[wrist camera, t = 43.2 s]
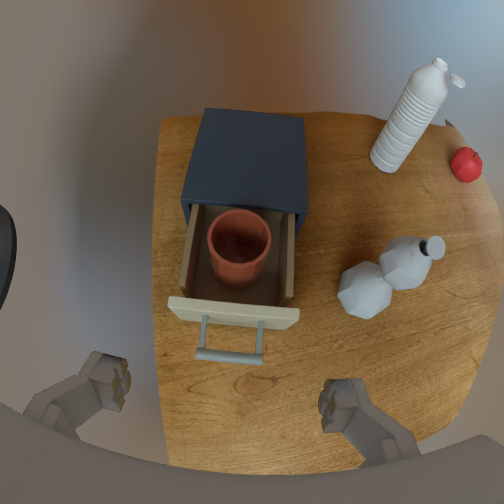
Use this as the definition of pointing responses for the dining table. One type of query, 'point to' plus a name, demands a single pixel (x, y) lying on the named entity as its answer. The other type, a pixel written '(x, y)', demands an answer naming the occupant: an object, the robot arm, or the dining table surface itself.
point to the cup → (238, 248)
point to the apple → (466, 164)
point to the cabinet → (248, 163)
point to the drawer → (236, 302)
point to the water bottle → (412, 114)
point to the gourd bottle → (388, 274)
